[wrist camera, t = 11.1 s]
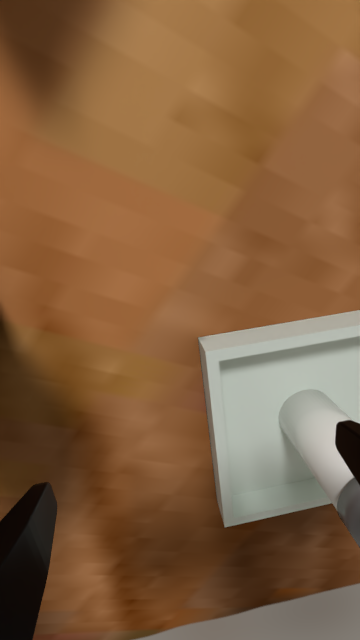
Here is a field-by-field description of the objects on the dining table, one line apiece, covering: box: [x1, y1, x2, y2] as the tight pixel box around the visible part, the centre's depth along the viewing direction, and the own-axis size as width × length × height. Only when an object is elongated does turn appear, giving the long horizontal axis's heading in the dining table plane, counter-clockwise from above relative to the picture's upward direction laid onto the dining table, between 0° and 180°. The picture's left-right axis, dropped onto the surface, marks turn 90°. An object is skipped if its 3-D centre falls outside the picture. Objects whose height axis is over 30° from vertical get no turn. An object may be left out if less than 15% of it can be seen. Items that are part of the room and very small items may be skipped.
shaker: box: [278, 389, 360, 547], centre depth 19 cm, size 5×5×9 cm
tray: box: [198, 310, 360, 527], centre depth 22 cm, size 16×16×2 cm
